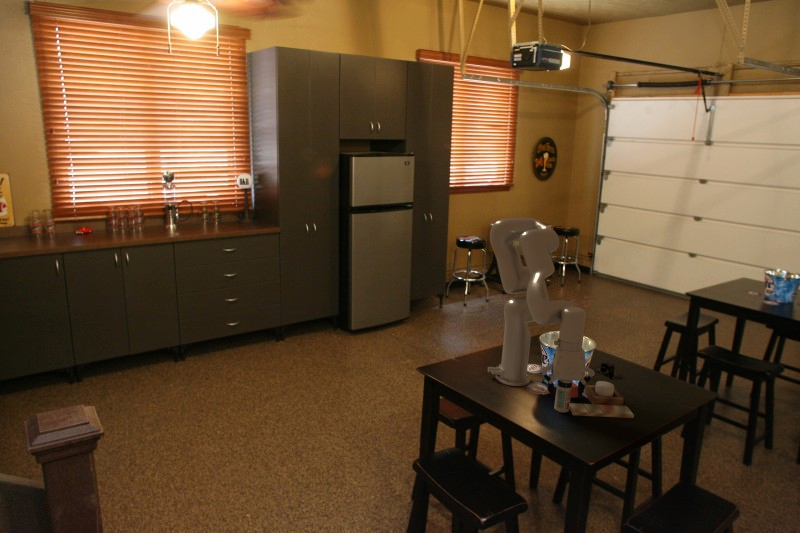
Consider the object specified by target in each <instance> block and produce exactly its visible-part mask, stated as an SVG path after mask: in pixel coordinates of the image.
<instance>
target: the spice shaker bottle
mask: <svg viewBox="0 0 800 533" xmlns="http://www.w3.org/2000/svg"><path fill="white" fill-rule="evenodd" d="M572 382H574V380H557V383H556V391H555V397H554V398H555V400H554V405H553V406H554V407H553V408H554V410H555V411H557V412H558V413H562V414H565V413H567V412H569V411H570V409H569V404H570V403H571V398H570V397H571V390H572Z"/></svg>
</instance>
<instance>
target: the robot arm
mask: <svg viewBox="0 0 800 533" xmlns="http://www.w3.org/2000/svg"><path fill="white" fill-rule="evenodd" d="M489 242H490V245H491V248H492V251H493V252H494V256H495V259H496V262H497V267H498V268H497V269H498V273H499V276H500V280H501V284H502V287H503V291H505V293H506V294H511V295H517V294H523V293H524V294H526V295H523V296H516V297H512V298H510V299H508V300H507V301H505V304H504V306H503V316H504V318H503V319H504V331H503V332H504V333H503V344H502V353H501V363H499V364H498V366H496V367H494V366H487V373H491V374H492V375H495V379H496V380H497V381H498V382H499V383H501V384H504V385H507V386H511V387H524V386H527V385H529V384H530V383H531V377H530V374H528V366H529V365H528V364H529V358H530V357H529V356H530V355H529V354H530V349H531V348H530V347H531V346H530V345H531V338H532V336H531V330H530V328H529V327H528V326H529V325H528V324H529V323H533V322H535V323H536V324H538V325H539V326H550V325H557V324H560V326H559V335H558V339H557V340H554V341H553V345H554V346H556V347H555V349H554V352H553V355H552V360H551V361H552V362H551V364H549V365H546V366H543V367H541V368H540V372H541V374H542V376H543V378H544V379H545V381H547V387H546V388H547V389H546V390H547V392H548V393H549V395H550V396H553V395H554V387H555V385H554V382H555V381H556V380H557V381H558V380H573V381H578V382H577V386H578V390H577V393H578V396H579V397H583V393H584V391H585V385H587V383H588V382H589V381H590V380H591V379H592V378H593V376H594V374H595V371H594V369H592V368H589V367H587V366H586V352H585V351H586V350H584V348H583V344H584V336H585V327H586V318H587V312H586V310H584V308H581V307H579V306H576V305H574V304H572V303H571V302H569V301H567V300H563V299H561V300H551V301H550V297H549V293H548V288H547V284H546V279H547V278H549V277H550V276H551V275H553V274H554V273H555V271H556V270H555V269H556V268H555V265H554V262H553V260H552V257H551V254H550V253H553V252H555V251H557V249H558V248H559V246H560V238H559V236H558V233H557V232H556V231H555V230H554V229H553V228H551V227H550V226H548V225H547V224H545V223H543V222H541V221H539V220H537V219H535V218H532V217H512V218H510V217H509V218H502V219H499V220H497V221H495V222H494V223H493V225H492V226H491V229H490V233H489ZM512 242H513V243H514V242H519V246H520V250H521V252H522V256H523V257H524V258H523V259H524V261H525V264H526V266H524V265H523V262H522V259H521V254H520V252H519V251H518V249H517V248H516V247H515V246H514V245H513V243H512ZM549 371H550V374H549V375H548V374H547V372H549ZM586 373H587V374H586ZM584 394H585V393H584Z"/></svg>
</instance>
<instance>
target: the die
mask: <svg viewBox="0 0 800 533" xmlns="http://www.w3.org/2000/svg"><path fill="white" fill-rule="evenodd" d="M577 390H578V384H576V383H575V382H574V381H573V382H572V390H571V397H570V399H574V398H575V399H576V398H578V397H579V394H578V393H577Z"/></svg>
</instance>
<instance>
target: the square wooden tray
mask: <svg viewBox="0 0 800 533" xmlns="http://www.w3.org/2000/svg"><path fill="white" fill-rule="evenodd" d="M595 388H596V384H595V385H594V384H593V385H592V384H591V385H590V384H586V385H585V387H584V395H585V394H586V395H585V396H586V397H587V400H589V402H590V404H597V405H619V406H624V401H625V400H624V397H623V396H622V395H621V394H620V393H619V391H617V389H616V388H615V387H614V392H613V397H604V396H597V395H596V394H595Z"/></svg>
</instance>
